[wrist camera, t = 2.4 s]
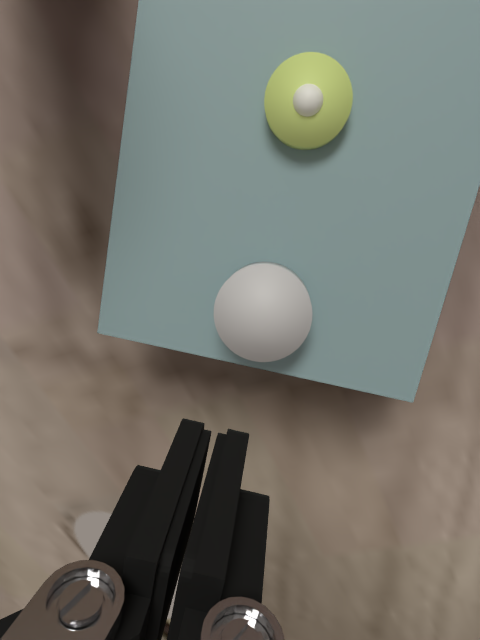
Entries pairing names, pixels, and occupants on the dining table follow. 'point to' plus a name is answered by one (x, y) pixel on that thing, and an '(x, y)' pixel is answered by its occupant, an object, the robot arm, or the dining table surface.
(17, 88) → the dining table surface
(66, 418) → the dining table surface
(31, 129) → the dining table surface
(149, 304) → the plate
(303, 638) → the dining table surface
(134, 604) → the robot arm
